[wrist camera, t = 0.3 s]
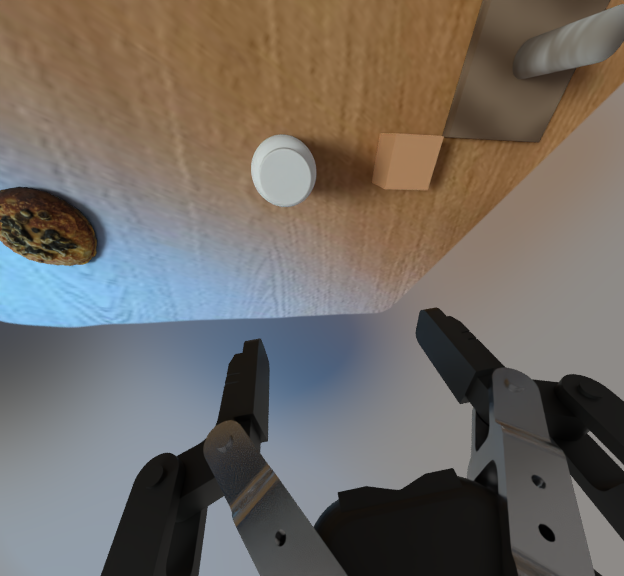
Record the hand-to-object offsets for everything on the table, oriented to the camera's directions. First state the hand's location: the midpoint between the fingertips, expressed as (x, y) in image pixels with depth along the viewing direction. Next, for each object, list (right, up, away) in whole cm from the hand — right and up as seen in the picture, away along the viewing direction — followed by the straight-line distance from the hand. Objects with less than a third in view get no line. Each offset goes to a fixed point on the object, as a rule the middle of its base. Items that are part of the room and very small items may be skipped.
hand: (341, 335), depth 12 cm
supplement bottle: (-6, +19, +20) cm, 28 cm away
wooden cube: (+10, +21, +21) cm, 31 cm away
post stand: (+24, +30, +17) cm, 42 cm away
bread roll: (-38, +11, +21) cm, 44 cm away
